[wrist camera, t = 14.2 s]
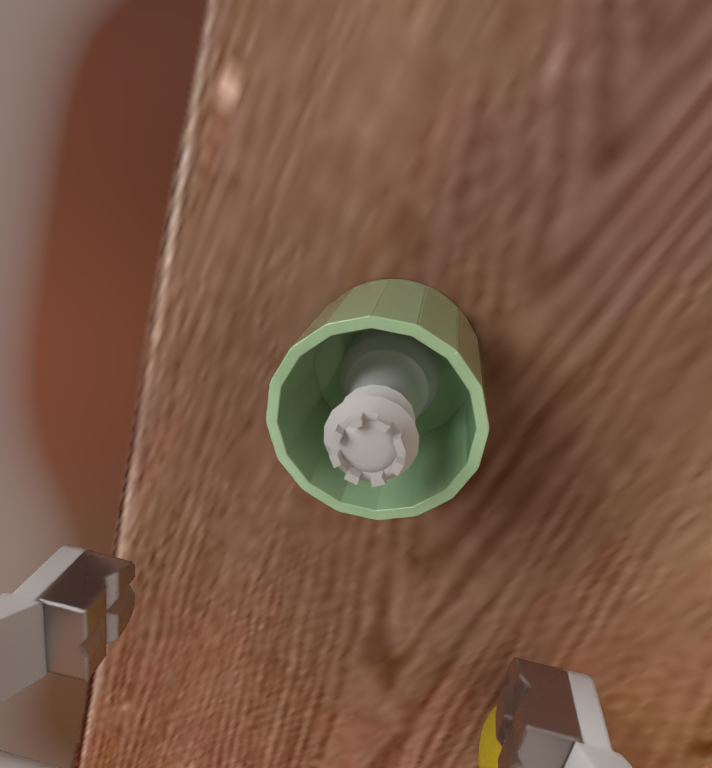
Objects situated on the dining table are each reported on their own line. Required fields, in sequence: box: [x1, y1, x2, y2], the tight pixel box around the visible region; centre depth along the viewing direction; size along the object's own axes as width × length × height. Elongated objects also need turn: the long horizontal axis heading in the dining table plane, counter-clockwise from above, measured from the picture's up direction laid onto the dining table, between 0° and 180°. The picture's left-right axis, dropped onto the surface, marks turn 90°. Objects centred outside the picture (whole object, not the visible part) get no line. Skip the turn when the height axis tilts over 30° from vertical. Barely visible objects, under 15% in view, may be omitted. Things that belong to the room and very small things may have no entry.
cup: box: [266, 279, 490, 520], centre depth 23 cm, size 8×8×6 cm
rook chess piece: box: [324, 328, 442, 487], centre depth 22 cm, size 4×4×8 cm
